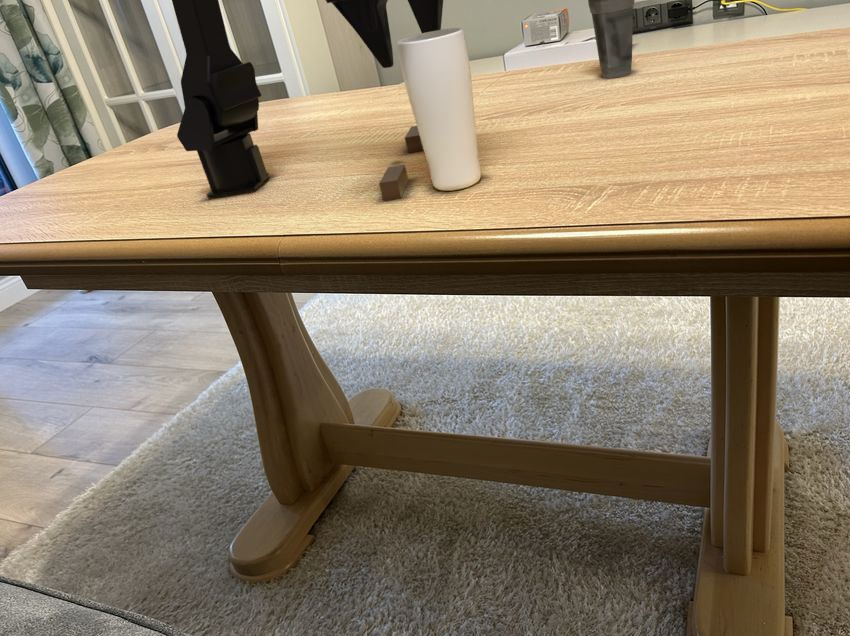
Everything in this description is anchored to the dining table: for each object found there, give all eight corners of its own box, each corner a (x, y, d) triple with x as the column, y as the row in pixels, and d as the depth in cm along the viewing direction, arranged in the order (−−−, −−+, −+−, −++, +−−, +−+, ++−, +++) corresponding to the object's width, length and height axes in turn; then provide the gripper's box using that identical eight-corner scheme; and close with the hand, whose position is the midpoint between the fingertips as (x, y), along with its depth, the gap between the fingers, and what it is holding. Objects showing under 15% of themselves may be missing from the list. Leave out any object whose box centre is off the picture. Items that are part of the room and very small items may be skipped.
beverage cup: (585, 77, 114) (572, -64, 104) (626, 67, 115) (617, -74, 105) (606, 82, 108) (594, -68, 98) (649, 71, 109) (642, -78, 99)
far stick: (422, 150, 92) (419, 135, 91) (407, 152, 92) (404, 137, 91) (428, 138, 97) (425, 124, 96) (413, 141, 97) (410, 126, 96)
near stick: (401, 198, 75) (396, 180, 74) (383, 201, 76) (378, 183, 75) (408, 181, 81) (405, 164, 80) (391, 183, 81) (387, 166, 80)
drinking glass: (482, 191, 73) (455, 34, 65) (419, 197, 74) (387, 46, 67) (493, 170, 78) (469, 24, 71) (435, 177, 80) (406, 35, 72)
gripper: (393, -150, 53) (436, 69, 60) (497, -150, 66) (521, 29, 74) (281, -116, 58) (334, 82, 65) (399, -122, 71) (431, 42, 79)
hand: (412, 57), depth 71 cm, fingers open, 9 cm apart
